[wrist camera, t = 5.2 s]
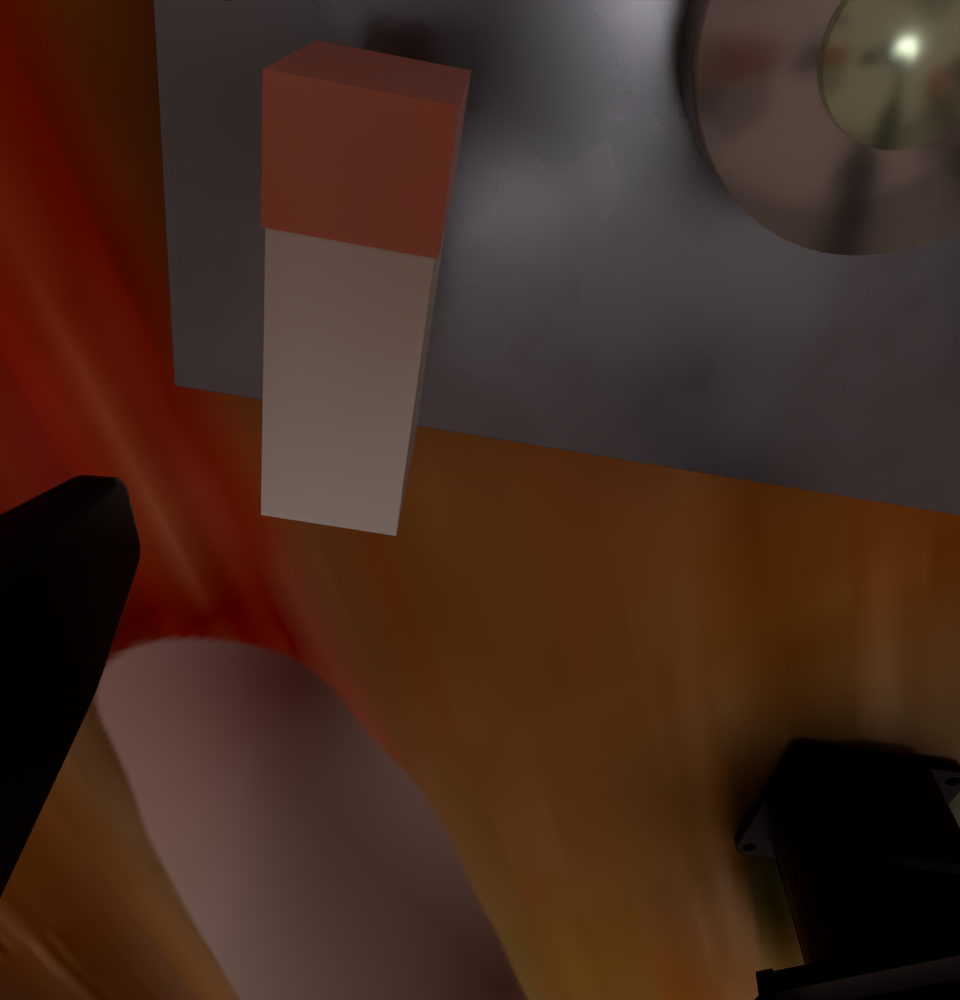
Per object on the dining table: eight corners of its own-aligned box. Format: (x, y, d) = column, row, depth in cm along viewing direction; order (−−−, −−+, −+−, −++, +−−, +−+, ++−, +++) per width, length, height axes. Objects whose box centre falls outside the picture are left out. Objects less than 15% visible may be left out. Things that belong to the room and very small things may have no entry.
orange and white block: (429, 379, 20) (397, 538, 14) (326, 361, 19) (257, 515, 14) (477, 48, 15) (458, 106, 10) (347, 22, 15) (262, 68, 10)
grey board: (1150, 525, 23) (1243, 612, 20) (190, 364, 21) (137, 433, 18) (2050, -579, 12) (2575, -754, 9) (127, -1130, 10) (-40, -1588, 7)
